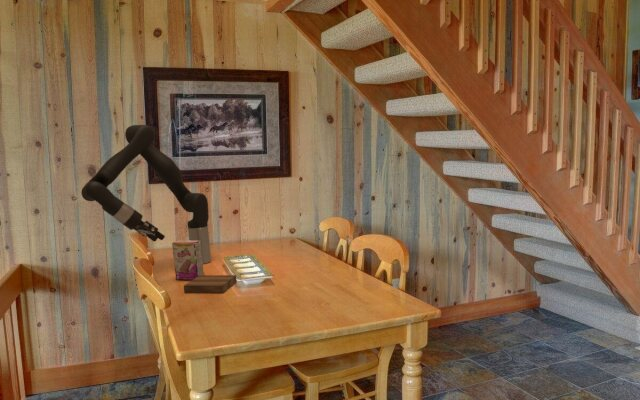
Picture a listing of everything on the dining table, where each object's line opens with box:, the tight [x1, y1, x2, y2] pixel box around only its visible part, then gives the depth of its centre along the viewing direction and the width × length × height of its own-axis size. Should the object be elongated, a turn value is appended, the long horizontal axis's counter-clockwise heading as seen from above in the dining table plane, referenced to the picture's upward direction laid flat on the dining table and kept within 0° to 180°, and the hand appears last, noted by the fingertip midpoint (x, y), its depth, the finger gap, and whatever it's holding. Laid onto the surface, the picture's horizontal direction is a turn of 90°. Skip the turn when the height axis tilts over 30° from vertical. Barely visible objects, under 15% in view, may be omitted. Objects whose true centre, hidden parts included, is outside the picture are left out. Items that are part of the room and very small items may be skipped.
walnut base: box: [183, 274, 237, 294], centre depth 211 cm, size 14×16×3 cm
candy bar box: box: [171, 239, 205, 281], centre depth 225 cm, size 11×5×16 cm, turn 71°
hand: (159, 239), depth 223 cm, fingers open, 8 cm apart
